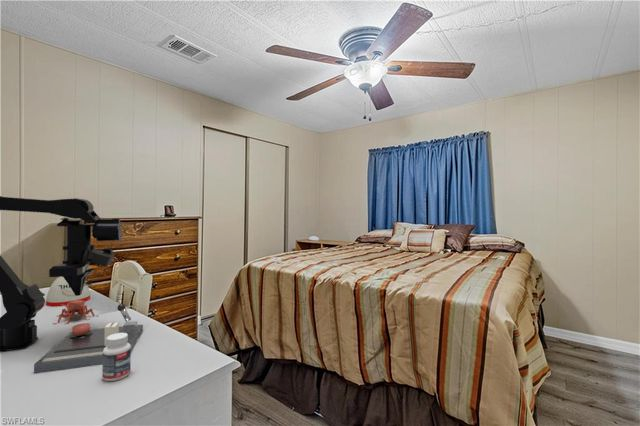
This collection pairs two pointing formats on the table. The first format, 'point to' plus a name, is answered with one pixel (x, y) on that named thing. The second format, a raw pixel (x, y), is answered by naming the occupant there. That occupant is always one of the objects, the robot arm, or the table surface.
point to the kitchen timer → (64, 294)
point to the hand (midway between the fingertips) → (78, 295)
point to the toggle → (124, 312)
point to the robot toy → (75, 308)
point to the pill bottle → (116, 357)
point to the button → (81, 329)
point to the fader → (111, 330)
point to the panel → (83, 349)
